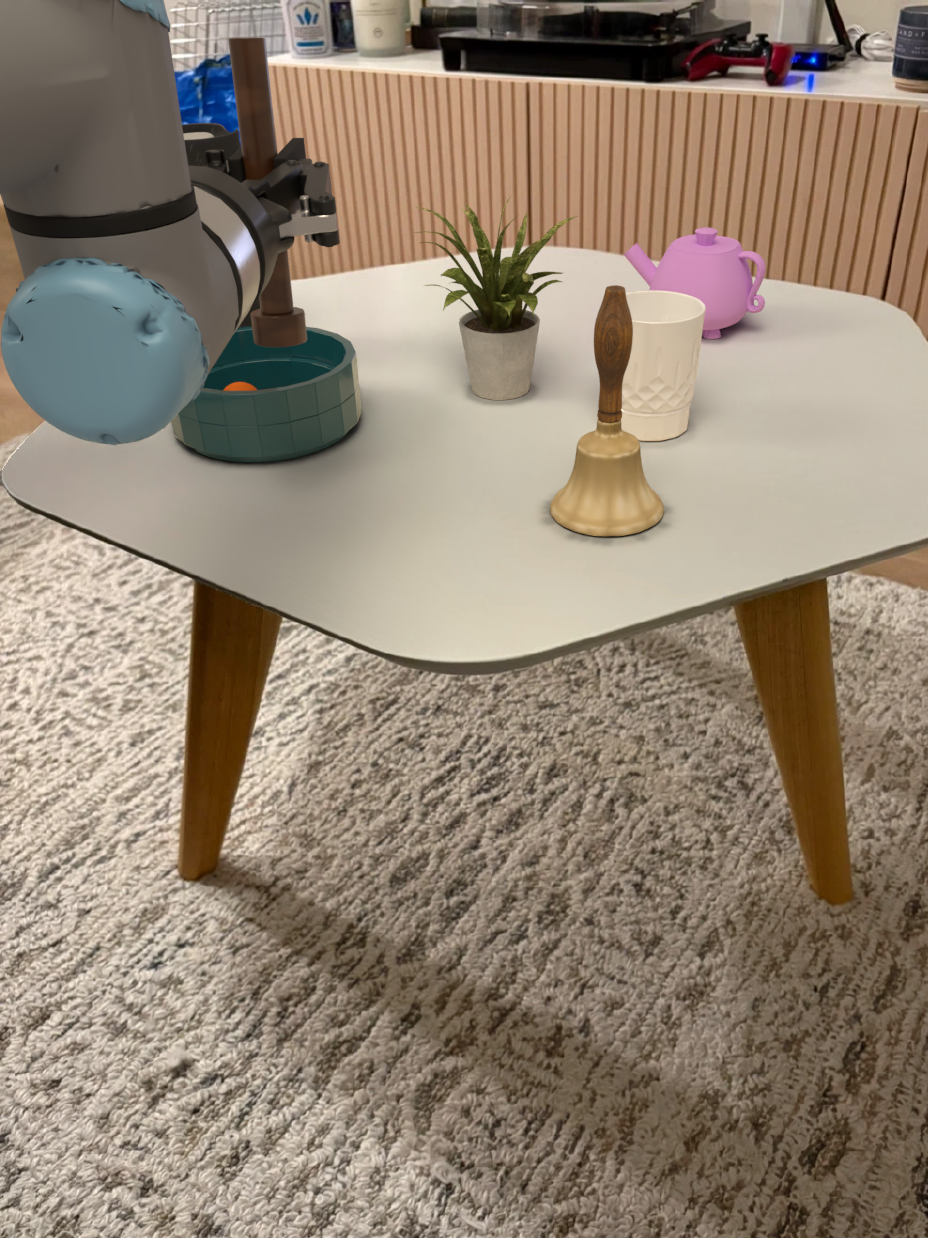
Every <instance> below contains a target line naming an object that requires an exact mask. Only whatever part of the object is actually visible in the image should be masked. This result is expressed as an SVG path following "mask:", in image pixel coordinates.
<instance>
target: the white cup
mask: <svg viewBox="0 0 928 1238" xmlns="http://www.w3.org/2000/svg"><path fill="white" fill-rule="evenodd" d="M626 299H627V303H628V306H629V310H630V314H631V318H632V325H633V339H632V349H631V355H630V359H629V363H628V366H627V368H626V371H625V374H624V378H623V383H622V409H621V410H622V418H621V428H622V430H623V431H625V432H628V433H630V434H632V435H634V436H635V437H636V438H637V439H638V441H639V442H640V441H641V442H658V441H659V442H661V441H666V440H670V439H674V438H677V437H679V436H681V435H682V434H684V433H685V432H687V430H688V425H689V419H690V412H691V404H692V399H693V397H694V394H695V386H696V382H697V375H698V369H699V359H700V352H701V346H702V339H703V336H702V331H703V324H704V317H705V310H706V307H705V305H704V303H703V302H702V301H700V300H699V299H697V298H695V297H692V296H690V295H686V294H682V293H677V292H670V291H657V290H650V289H649V290H637V291H636V290H635V291H629V292H626Z"/></svg>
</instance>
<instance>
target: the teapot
mask: <svg viewBox="0 0 928 1238" xmlns="http://www.w3.org/2000/svg"><path fill="white" fill-rule="evenodd" d="M694 233H695V234H688V235H684V236H680V237H678V238H676V239H675V240H673V241H672V242H671V243H670V245H669V246H668V248H667V249H666V250H665V252H664V254H663V255H662V257H661V259H660V261H659V262H658V264H657V266H656V265H655V263H653V261H652V260H651V259H650V257H649V256H648V255H647V254H646V252H645V251H644V250H643V248H642V247H641V246H640V245H639V243H638V242H636V243H635V244H634V245H632V246H631V247H629V249H628V250H626V252H624V253H623V256H624V257H625V258H626V260H627V261H628V262H629V264H631V266H632V267H633V268H634V269H635V271H636V272H637V273H638V274H639V275H640V277H641V278H642V279H643V280H644V282H645V283H646V284H647V285H648V286H649V290H657V291H670V292H677V293H682V294H686V295H690V296H692V297H695V298H697V299H699V300H700V301H702V302H703V303H704V305H705V307H706V310H705V317H704V324H703V331H702V338H704V339H709V340H717V339H720V338H721V337H722V335H721V329H724V328H728V327H732V326H733V325H735V324H737V323H739V322H740V321H741V320H742V319H743V318H744V317H745V316H746V314H747V313H748V312H749V313H751V314H757V313H760V312H762V311H763V310H764V309H765V306H766V299H765V298H764V296H762V295H761V294H757V293H758V292H759V289H760V288H761V285H762V282H763V281H764V278H765V275H766V268H767V267H766V262H765V259H764V258H763V257H762V255H760V254H759V253H757V252H755V251H752V250H744V249H743V247H742V245H741V242H740V241H739V240H737V239H736V238H732V237H728V236H722V235H718V230H717V229H716V228H713V227H704V226H703V227H698V228H696V229H695V230H694ZM748 260H750V261H752V262H754V264H755V265H756V276H755V278H754V281H753V275H752V270H751V268H750V265H749V261H748ZM755 301H757V305H755Z"/></svg>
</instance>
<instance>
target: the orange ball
mask: <svg viewBox="0 0 928 1238" xmlns="http://www.w3.org/2000/svg"><path fill="white" fill-rule="evenodd" d="M254 390H257V389H256V388H255V387H254V386H253V385H251V384H249V383H246V382H235V383H232V384H230V385H228V386H227V387H225V389H224V390H223V391H254Z"/></svg>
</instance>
